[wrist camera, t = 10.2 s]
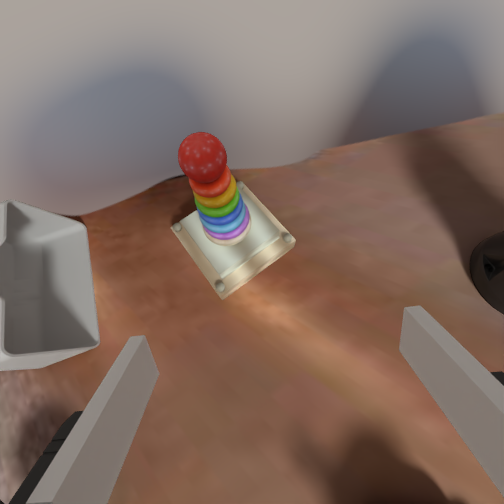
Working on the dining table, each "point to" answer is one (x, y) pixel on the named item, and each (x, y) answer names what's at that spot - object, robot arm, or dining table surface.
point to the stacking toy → (214, 189)
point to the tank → (44, 288)
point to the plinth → (248, 266)
